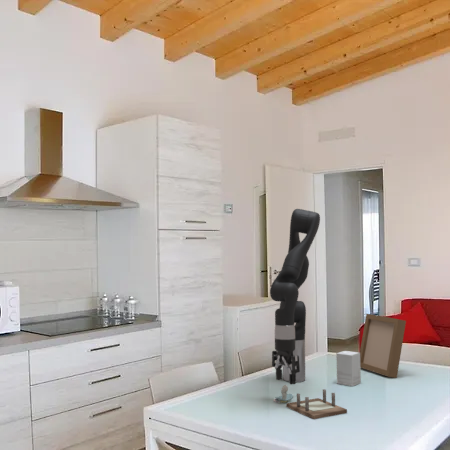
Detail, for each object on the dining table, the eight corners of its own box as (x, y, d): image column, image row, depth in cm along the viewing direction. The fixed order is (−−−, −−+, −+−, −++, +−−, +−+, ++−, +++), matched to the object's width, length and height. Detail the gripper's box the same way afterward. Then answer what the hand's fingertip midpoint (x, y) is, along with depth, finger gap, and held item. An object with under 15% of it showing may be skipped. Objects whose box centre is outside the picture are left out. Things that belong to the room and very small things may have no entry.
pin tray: (286, 406, 195) (286, 390, 195) (318, 401, 201) (318, 385, 201) (313, 419, 180) (313, 402, 181) (347, 413, 187) (346, 396, 187)
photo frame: (388, 379, 234) (387, 319, 235) (357, 368, 254) (356, 314, 255) (416, 375, 240) (414, 317, 241) (383, 365, 260) (382, 312, 261)
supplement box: (361, 383, 227) (360, 352, 227) (352, 386, 222) (351, 355, 222) (345, 380, 232) (345, 350, 232) (336, 383, 227) (335, 352, 227)
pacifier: (269, 402, 201) (282, 405, 197) (269, 384, 202) (281, 387, 197) (282, 398, 206) (295, 400, 202) (281, 381, 207) (294, 383, 203)
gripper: (304, 338, 197) (305, 384, 197) (282, 333, 210) (283, 377, 209) (287, 340, 194) (288, 387, 193) (265, 335, 206) (266, 379, 205)
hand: (285, 381), depth 201 cm, fingers open, 8 cm apart
